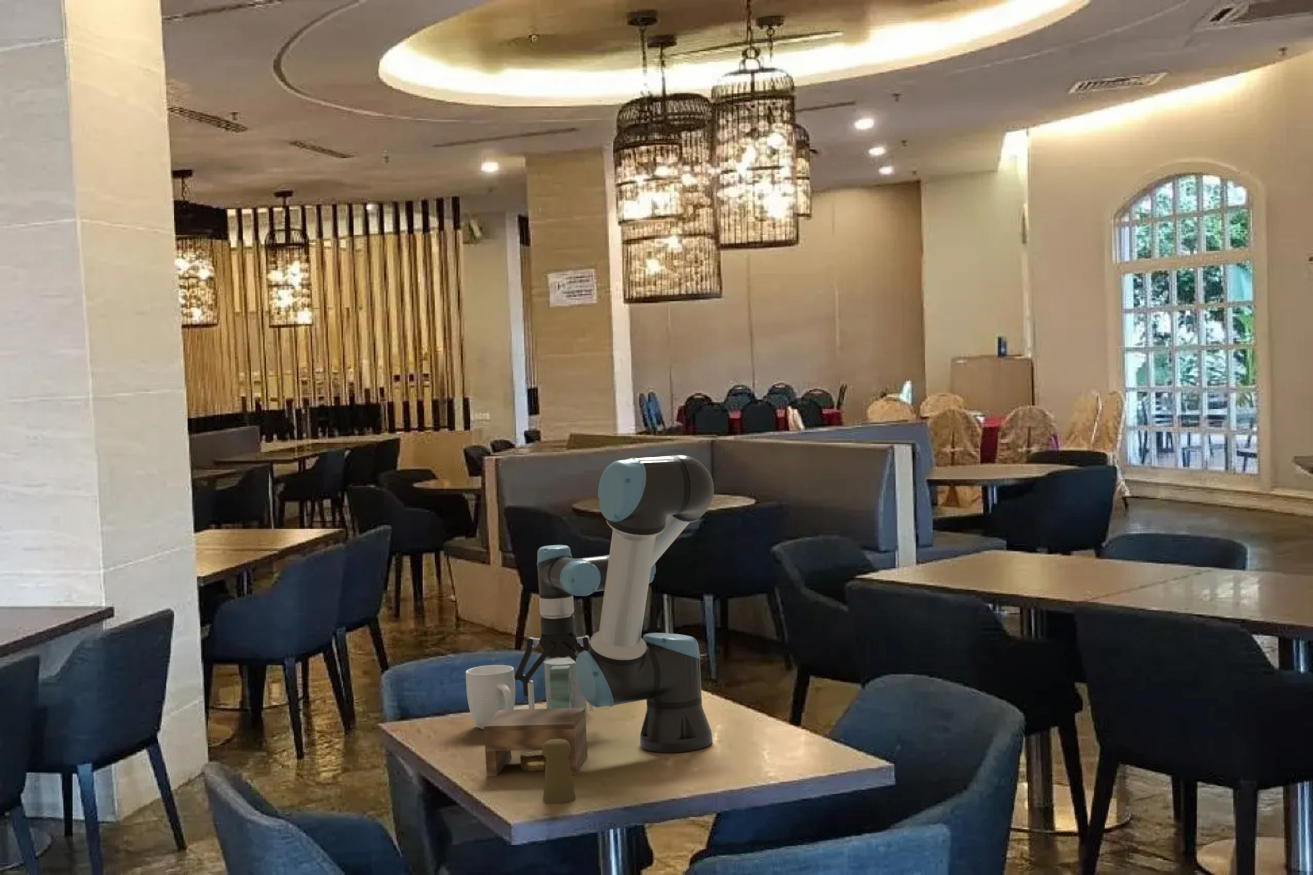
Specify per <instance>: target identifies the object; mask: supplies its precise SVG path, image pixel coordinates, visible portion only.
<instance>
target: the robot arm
mask: <svg viewBox="0 0 1313 875" xmlns="http://www.w3.org/2000/svg"><path fill="white" fill-rule="evenodd" d="M714 493H715V486H714V480H713V477H712V475H711V473H710V472H709V470H708V469H707V468H706V467H705V465H704V464H703V463H702V462H700V461H699V460H698V459H696V458H694V457H691V456H689V455H684V454H673V455H663V456H654V457H653V456H652V457H649V456H648V457H639V458H637V457H629V458H626V459H619V460H615V461H613V462H612V463H610V464H609V465H607V467H606V468H605V469H604V471H603V472H602V474H601V476H600V480H599V484H598V490H597V498H598V499H599V501H598V507H599V510H600V512H601V514H602V516H603V517H604V518H605V519H606V523H607V525H608V526H609V528H611V530H612V534H611V539H610V540H611V542H610V548H609V554H606V555H598V556H597V555H596V556H590V557H582V558H581V557H580V558H575V557H574V558H573V555H572V552H571V548H570V546H568V545H564V544H554V545H544V546H541V547H539V549H538V550H537V557H536V558H537V562H536V566H537V577H538V578H537V579H538V591H539V592H538V593H539V594H538V595H539V597H538V598H539V599H538V600H539V614H540V615H541V618H540V634H541V635H540V638H537V637H536V638H535V637H534V636H530V637H529V638H528V639H527V640H526V649H525V652H524V654H523V655H522V659H521V661H520V663H519V666H518V668H517V670H516V672H515V673H514V678H515V681H519V682H522V685H523V686H522V688H523V689H522V690H523V691H522V692H523V696H524V697H528V709H536V706H535V705H536V704H535V692H534V691H535V690H534V689H535V688H534V680H530V679H532V677H533V676H534V674H535V673H536V672H537V670H538V669H539V668H540V666H541V665H542V664H543V663H544V661H545V660H547V659H546V658H547V657H549V658H556V657H561V658H565V657H570V658H571V659H573V660H574V661H575V662H576V664H575V665H576V676H577V680H578V684H579V687H580V690H581V692H582V694H583V696H584V698H585V699H586V703H587V704H589V707H588V708H589V712H593V711H594V710H595V709H596V708H603V707H610V708H611V707H614V706H617V705H622V704H623V705H624V704H628V703H629V704H630V703H634V702H635V703H636V702H640V701H646V711H645V715H644V719H643V722H642V726H641V731H640V734H639V741H640V742H639V743H640V744H639V746H640V747H641V748H642V749H644V750H647V751H650V752H655V753H683V752H684V753H685V752H691V751H697V750H701V749H705V748H706V747H709V746H711V745H712V743H713V732H712V729H711V726H710V723H709V721H708V719H707V718H708V717H707V716H706V713H705V710H704V707H703V698H702V696H703V695H702V678H701V654H700V653H701V652H700V649H699V648H700V647H699V642H698V641H697V639H696V638H695V637H693V636H691V635H685V634H679V633H670V632H669V633H667V632H666V633H665V632H651V633H650V632H648V633H645V634H644V635H643V636H642V631H643V626H644V616H645V613H646V612H645V611H646V605H647V598H648V591H649V584H651V583H653V581H654V579H655V574H656V572H657V570H656V563H657V561H658V560H659V559H660V558H661V557H662V556H663V554H664V553H665V552H666V551H667V550H668V549H669V547H670V546H671V545H672V544H673V543H674V542H675V540H677V538H678V537H679V536H680V534H681V533H682V532H683V531H684V530H685V529H686V528H687V526H688V525H689V524H690V523H695V522H697V521H698V520H700V519H701V518H702V516H703V515H704V514H705V513H706V512H707V511H708V509H709V508H710V506H711V504H712V502H713V498H714ZM601 591H602V592H603V591H604V592H603V597H602V598H603V600H602V607H601V614H600V620H599V621H600V622H599V628H598V631H596V632H595V633H593V635H591V637H590V635H588V634H586V635H585V636H580V637H579V636H578V637H577V635H576V626H575V616H574V614H573V613H574V612H575V608H574V604H575V603H574V596H575V597H580V596H581V597H587V596H589V595H591V594H593V593H595V592H601ZM642 637H643V638H642ZM577 644H579V645H580V647H583V648H584V650H582V651H581V652H579V651H578V650H577V649H576V648H575V647H576V646H577ZM538 645H539V646H540V647H541V648H542V650H543V651H542V653H541V654H540V655H539V657H538V658H537V659H536V661H534V664H533V665H532V666H531V667H530V669H529V670H528V671H527V672H526V674H524V671H525V669H526V667H527V665H528V662H529V660H530V658H531V656H532V654H533V650H534V649H535V648H537V646H538Z"/></svg>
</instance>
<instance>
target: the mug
mask: <svg viewBox="0 0 1313 875" xmlns="http://www.w3.org/2000/svg"><path fill="white" fill-rule="evenodd" d="M514 677H515V669H514V667H513V666H511V665H505V664H490V665H489V664H488V665H479V666H475V667H472V668H468V669H467V670H466V671H465V685H466V686H465V688H466V696H467V697H466V698H467V703H468V708H469V713H470V715H471V718H472V720H473V722H474V723H475V724H474V725H476V727H477V728H478V729H480V730H483V731H484V726H485V725H486V723H487V722H488V721H489V720H490V719H491V718H492V717H493V716H494V715H495V714H496V713H497V712H498V711H499V710H515V703H516V683H515V681H516V679H515V678H514Z"/></svg>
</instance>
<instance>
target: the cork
mask: <svg viewBox="0 0 1313 875" xmlns="http://www.w3.org/2000/svg"><path fill="white" fill-rule="evenodd" d="M570 751H571V747H570V744H569V742H568V741H567V740H565V739H552V740H548V741H546V742H545V743H544V745H543V755H544V756H545V758H546V767H545V770H544V781H543V783H544V784H543V793H542V794H543V795H542V800H543V802H545V803H548V804H555V805H557V804H565V803H569V802H572V801H574V800H576V793H575V788H574V783H573V782H574V781H573V776H572V775H573V774H571V770H570V765H569V759H568V756H569V755H570Z"/></svg>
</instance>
